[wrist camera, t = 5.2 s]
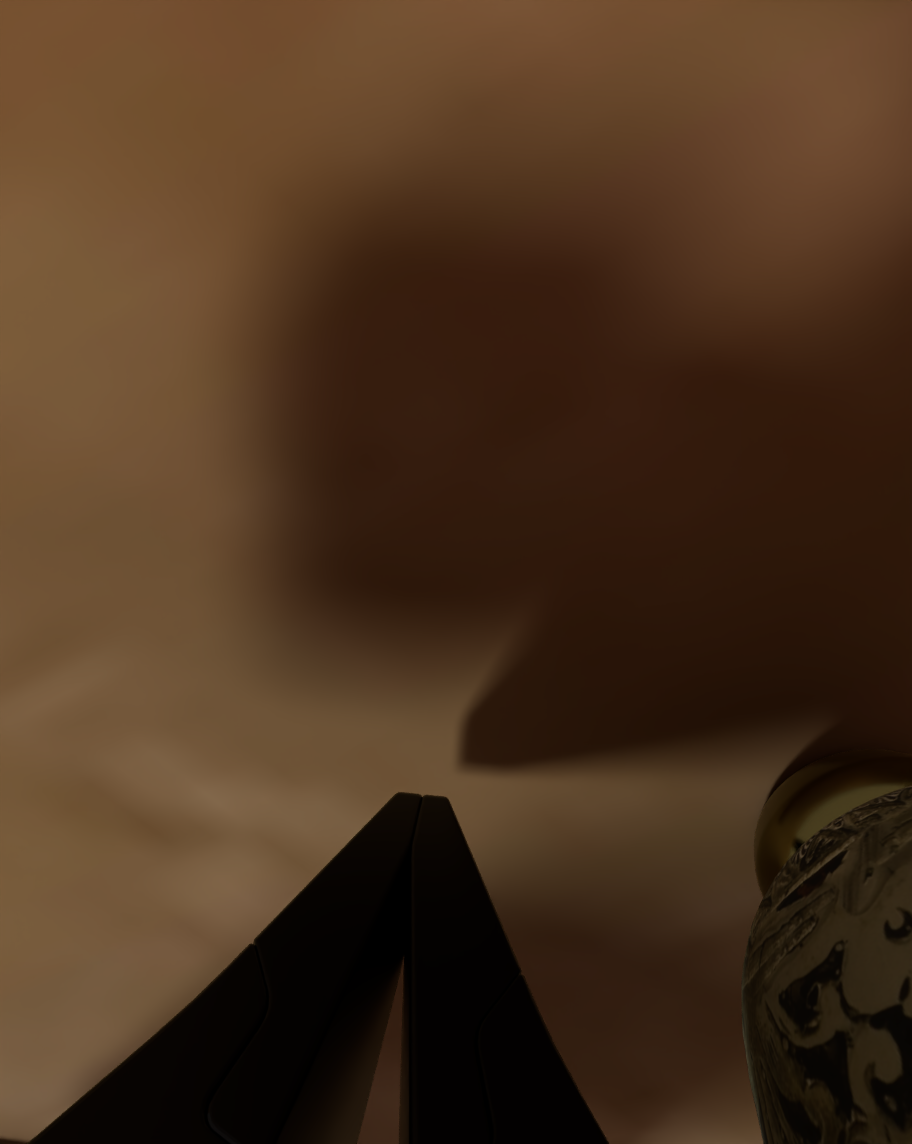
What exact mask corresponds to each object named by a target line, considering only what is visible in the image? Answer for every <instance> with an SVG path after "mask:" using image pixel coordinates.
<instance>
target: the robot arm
mask: <svg viewBox="0 0 912 1144" xmlns="http://www.w3.org/2000/svg"><path fill="white" fill-rule="evenodd" d="M403 958H404V971H403V1006H402V1041H401V1076H400V1112H399V1144H609V1142H608V1141H607V1139H606V1137H605V1135H604V1134H603V1132H602V1130H601V1128H600V1127H599V1125H598V1123H597V1121H596V1119H595V1118H594V1116H593V1114H592V1112H591V1111H590V1109H589V1107H588V1105H587V1104H586V1102H585V1100H584V1098H583V1096H582V1095H581V1093H580V1091H579V1089H578V1087H577V1085H576V1084H575V1082H574V1080H573V1078H572V1076H571V1074H570V1072H569V1070H568V1069H567V1067H566V1065H565V1063H564V1061H563V1059H562V1057H561V1055H560V1054H559V1052H558V1050H557V1048H556V1046H555V1044H554V1042H553V1040H552V1038H551V1035H550V1033H549V1031H548V1029H547V1027H546V1025H545V1023H544V1020H543V1018H542V1016H541V1014H540V1012H539V1010H538V1007H537V1005H536V1003H535V1001H534V998H533V996H532V994H531V991H530V989H529V987H528V984H527V982H526V980H525V977H524V976H523V975H521V968H520V966H519V964H518V961H517V959H516V957H515V954H514V952H513V950H512V947H511V945H510V943H509V940H508V938H507V935H506V933H505V931H504V928H503V926H502V924H501V921H500V919H499V917H498V914H497V912H496V910H495V907H494V905H493V902H492V900H491V898H490V895H489V893H488V891H487V888H486V886H485V884H484V881H483V879H482V877H481V874H480V872H479V870H478V867H477V865H476V862H475V860H474V858H473V855H472V853H471V851H470V848H469V846H468V844H467V841H466V839H465V837H464V834H463V832H462V829H461V827H460V825H459V822H458V820H457V818H456V815H455V813H454V811H453V808H452V806H451V804H450V801H449V800H448V798H447V797H444V796H434V795H424V796H423V797H422V796H421V795H420V794H414V793H404V792H398V793H396V794H395V795H394V796H393V797H392V798H391V799H390V800H389V801H388V802H387V803H386V804H385V805H384V806H383V807H382V808H381V809H380V811H379V812H378V813H377V814H376V815H375V816H374V817H373V818H372V819H371V820H370V821H369V822H368V823H367V824H366V825H365V826H364V827H363V828H362V829H361V830H360V831H359V832H358V833H357V834H356V835H355V836H354V837H353V838H352V839H351V840H350V841H349V842H348V843H347V845H346V846H345V847H344V848H343V849H342V850H341V851H340V852H339V853H338V854H337V855H336V856H335V857H334V858H333V859H332V860H331V861H330V862H329V863H328V864H327V865H326V866H325V867H324V868H323V869H322V870H321V871H320V872H319V873H318V874H317V875H316V876H315V877H314V878H313V880H312V881H311V882H310V883H309V884H308V885H307V886H306V887H305V888H304V889H303V890H302V891H301V892H300V893H299V894H298V895H297V896H296V897H295V898H294V899H293V900H292V901H291V902H290V903H289V904H288V905H287V906H286V907H285V908H284V909H283V910H282V911H281V912H280V913H279V915H278V916H277V917H276V918H275V919H274V920H273V921H272V922H271V923H270V924H269V925H268V926H267V927H266V928H265V929H264V930H263V931H262V932H261V933H260V934H259V935H258V936H257V937H256V938H255V939H254V944H249V945H248V946H247V947H246V948H245V949H244V950H243V951H242V952H241V953H240V954H239V955H238V956H237V957H236V958H235V959H234V960H233V962H232V963H231V964H230V965H229V966H228V967H227V968H226V969H225V970H223V971H222V972H221V973H220V974H219V975H218V976H217V977H216V978H215V979H214V980H213V981H212V982H211V983H210V984H209V985H208V986H207V987H206V988H205V989H204V990H203V991H202V992H201V993H200V994H199V995H198V996H197V997H196V998H195V999H194V1000H193V1001H192V1002H190V1003H189V1004H188V1005H187V1006H186V1007H185V1008H184V1009H183V1010H182V1011H180V1012H179V1013H178V1014H177V1015H176V1016H175V1017H174V1018H173V1019H171V1020H170V1021H169V1022H168V1023H167V1024H166V1025H165V1026H164V1027H162V1028H161V1029H160V1030H159V1031H158V1032H157V1033H156V1034H155V1035H153V1036H152V1037H151V1038H150V1039H149V1040H148V1041H147V1042H145V1043H144V1044H143V1045H142V1046H141V1047H140V1048H138V1049H137V1050H136V1051H135V1052H134V1053H133V1054H131V1055H130V1056H129V1057H128V1058H127V1059H126V1060H124V1061H123V1062H122V1063H121V1064H120V1065H119V1066H117V1067H116V1068H115V1069H114V1070H113V1071H112V1072H110V1073H109V1074H108V1075H107V1076H106V1077H105V1078H103V1079H102V1080H101V1081H100V1082H99V1083H98V1084H96V1085H95V1086H94V1087H93V1088H92V1089H91V1090H89V1091H88V1092H87V1093H86V1094H85V1095H84V1096H82V1097H81V1098H80V1099H79V1100H78V1101H77V1102H75V1103H74V1104H73V1105H72V1106H71V1107H70V1108H68V1109H67V1110H66V1111H65V1112H64V1113H62V1114H61V1115H60V1116H59V1117H58V1118H57V1119H55V1120H54V1121H53V1122H52V1123H51V1124H50V1125H48V1126H47V1127H46V1128H45V1129H44V1130H43V1131H41V1132H40V1133H39V1134H38V1135H37V1136H36V1137H34V1138H33V1139H32V1140H31V1141H29V1142H28V1143H27V1144H357V1141H358V1137H359V1133H360V1129H361V1125H362V1121H363V1117H364V1113H365V1109H366V1105H367V1101H368V1097H369V1093H370V1090H371V1086H372V1082H373V1078H374V1074H375V1070H376V1066H377V1062H378V1058H379V1054H380V1050H381V1046H382V1042H383V1038H384V1034H385V1030H386V1027H387V1023H388V1019H389V1015H390V1011H391V1007H392V1003H393V999H394V995H395V991H396V987H397V983H398V979H399V975H400V971H401V967H402V963H403Z"/></svg>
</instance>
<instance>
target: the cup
mask: <svg viewBox="0 0 912 1144" xmlns="http://www.w3.org/2000/svg"><path fill="white" fill-rule="evenodd" d="M754 857H755V870H756V876H757V881H758V885H759V888H760V891H761V894H762V896H763V898H764V899H763V900H762V902H761V904H760V906H759V908H758V911H757V913H756V916H755V918H754V921H753V923H752V927H751V931H750V935H749V939H748V944H747V949H746V954H745V959H744V964H743V974H742V1026H743V1038H744V1045H745V1052H746V1058H747V1065H748V1072H749V1078H750V1083H751V1088H752V1093H753V1097H754V1102H755V1106H756V1111H757V1115H758V1120H759V1125H760V1129H761V1134H762V1138H763V1143H764V1144H912V754H908V753H903V752H897V751H892V750H882V749H861V750H852V751H846V752H841V753H837V754H834V755H830V756H827V757H824V758H822V759H819V760H817V761H815V762H813V763H811V764H809V765H807V766H805V767H803V768H802V769H800V770H799V771H797V772H795V773H794V774H793V775H792V776H790V777H789V778H788V779H786V780H785V781H784V782H783V783H782V784H781V785H780V786H779V787H778V788H777V789H776V790H775V792H774V793H773V794H772V795H771V797H770V798H769V800H768V801H767V802H766V804H765V806H764V808H763V810H762V812H761V814H760V817H759V820H758V823H757V827H756V831H755V839H754Z"/></svg>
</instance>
